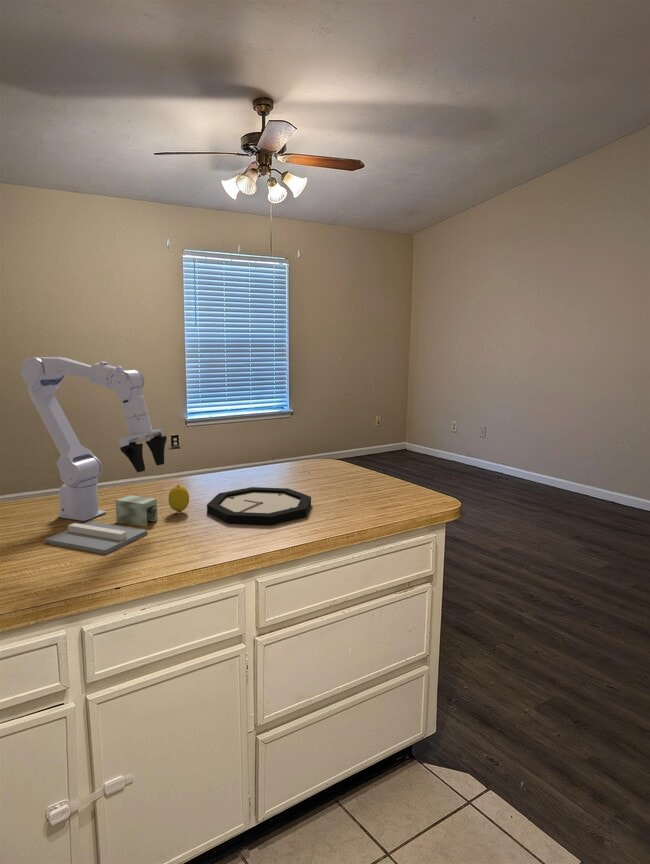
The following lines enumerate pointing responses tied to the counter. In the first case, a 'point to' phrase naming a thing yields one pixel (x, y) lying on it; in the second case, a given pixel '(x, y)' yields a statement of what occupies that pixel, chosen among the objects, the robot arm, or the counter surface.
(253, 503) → the wall clock
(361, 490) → the counter surface
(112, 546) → the cleat board
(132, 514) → the cabinet block
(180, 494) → the lemon
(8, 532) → the counter surface
